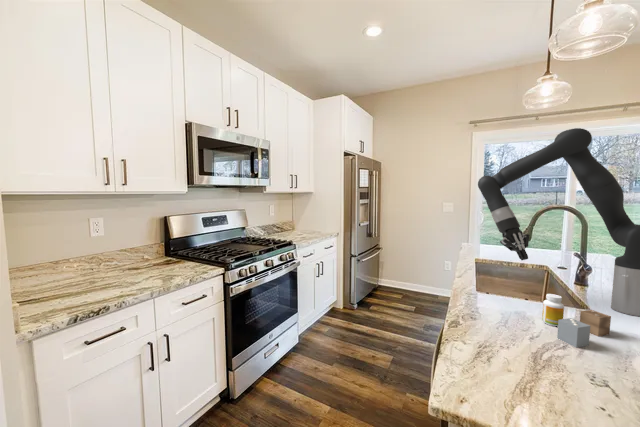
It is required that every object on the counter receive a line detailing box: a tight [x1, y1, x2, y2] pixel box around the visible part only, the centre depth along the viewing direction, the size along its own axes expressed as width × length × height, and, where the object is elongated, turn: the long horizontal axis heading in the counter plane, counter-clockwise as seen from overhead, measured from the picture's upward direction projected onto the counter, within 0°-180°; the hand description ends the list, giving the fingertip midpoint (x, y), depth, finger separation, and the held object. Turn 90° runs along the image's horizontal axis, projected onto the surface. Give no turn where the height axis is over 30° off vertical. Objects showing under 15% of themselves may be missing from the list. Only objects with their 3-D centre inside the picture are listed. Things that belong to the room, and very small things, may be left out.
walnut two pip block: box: [579, 309, 612, 337], centre depth 86 cm, size 5×5×6 cm
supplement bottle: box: [541, 293, 565, 328], centre depth 91 cm, size 5×5×10 cm
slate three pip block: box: [556, 317, 591, 349], centre depth 80 cm, size 5×5×6 cm
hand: (525, 259), depth 107 cm, fingers closed
